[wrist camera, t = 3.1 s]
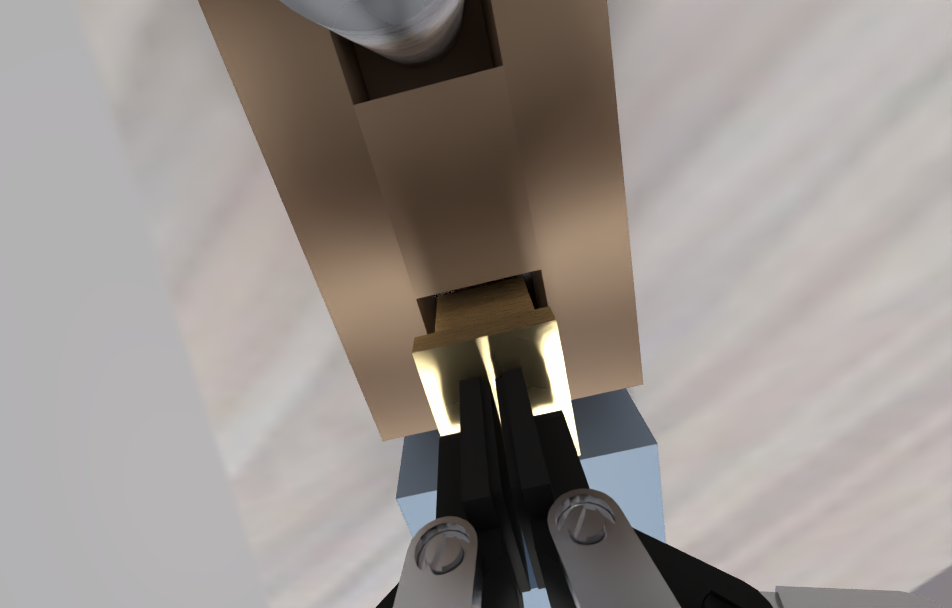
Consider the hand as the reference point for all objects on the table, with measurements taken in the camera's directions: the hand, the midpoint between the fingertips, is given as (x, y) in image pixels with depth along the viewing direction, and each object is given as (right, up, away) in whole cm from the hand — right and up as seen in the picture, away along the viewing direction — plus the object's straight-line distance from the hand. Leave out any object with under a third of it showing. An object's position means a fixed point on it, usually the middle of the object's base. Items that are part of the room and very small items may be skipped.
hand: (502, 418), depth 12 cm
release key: (0, +2, +4) cm, 5 cm away
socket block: (-2, +9, +5) cm, 10 cm away
